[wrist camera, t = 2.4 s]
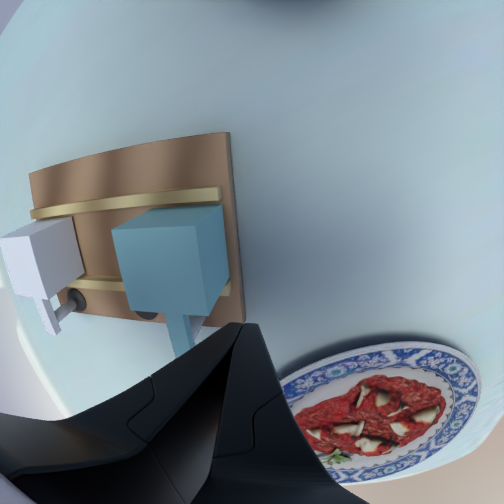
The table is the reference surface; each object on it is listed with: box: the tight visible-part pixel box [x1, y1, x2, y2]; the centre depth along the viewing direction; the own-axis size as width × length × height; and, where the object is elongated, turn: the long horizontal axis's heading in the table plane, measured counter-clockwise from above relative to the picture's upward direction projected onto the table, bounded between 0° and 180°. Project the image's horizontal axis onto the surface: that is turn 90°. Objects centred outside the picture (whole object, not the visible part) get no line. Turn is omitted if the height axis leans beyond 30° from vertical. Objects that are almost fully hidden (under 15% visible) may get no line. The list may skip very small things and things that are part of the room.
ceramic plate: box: [280, 341, 481, 483], centre depth 25 cm, size 26×26×3 cm
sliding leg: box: [111, 204, 229, 358], centre depth 18 cm, size 5×9×5 cm, turn 4°
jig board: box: [29, 132, 246, 327], centre depth 21 cm, size 19×14×2 cm
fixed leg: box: [0, 216, 85, 335], centre depth 20 cm, size 5×9×5 cm, turn 4°
